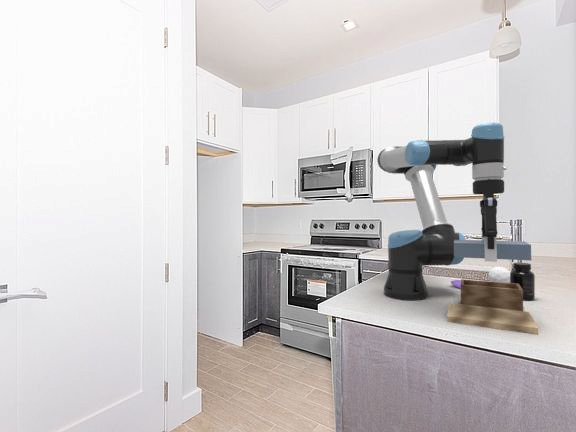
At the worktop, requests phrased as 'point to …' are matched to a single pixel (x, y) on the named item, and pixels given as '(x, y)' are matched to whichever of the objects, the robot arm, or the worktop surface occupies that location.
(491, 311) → the oak cutting board
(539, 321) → the worktop surface
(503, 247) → the slate lid
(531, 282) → the supplement bottle
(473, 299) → the walnut spice box
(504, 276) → the ball
